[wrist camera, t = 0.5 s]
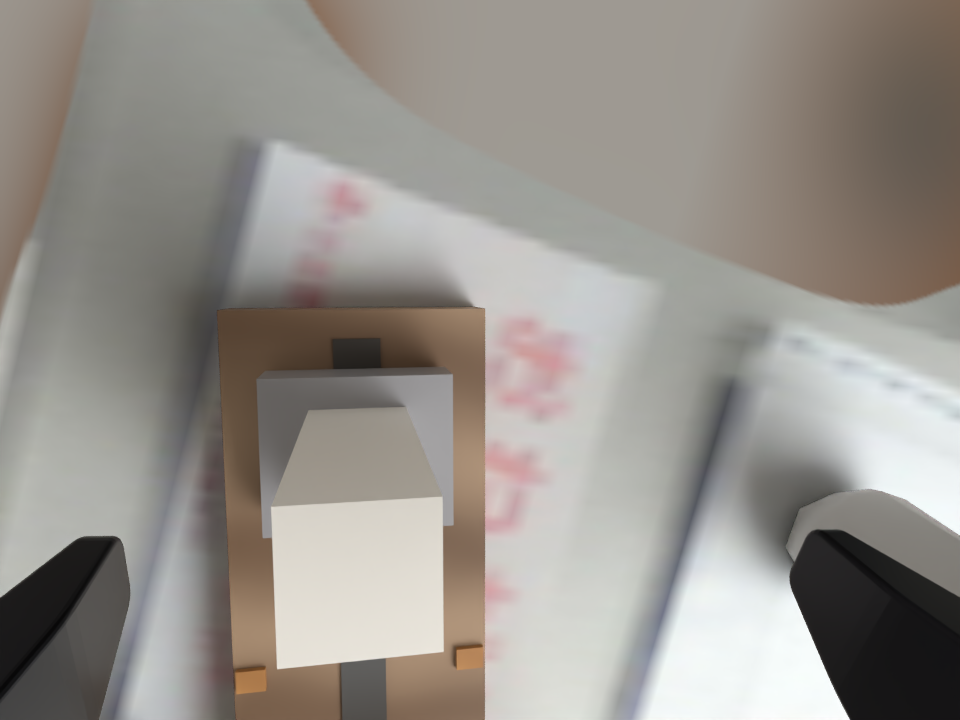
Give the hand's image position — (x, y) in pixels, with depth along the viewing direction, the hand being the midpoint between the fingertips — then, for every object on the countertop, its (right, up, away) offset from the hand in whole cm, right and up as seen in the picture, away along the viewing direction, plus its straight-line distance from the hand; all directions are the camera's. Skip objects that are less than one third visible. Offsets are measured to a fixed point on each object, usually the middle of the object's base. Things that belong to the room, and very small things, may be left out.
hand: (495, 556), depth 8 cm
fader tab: (-4, 0, +14) cm, 15 cm away
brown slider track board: (-5, -4, +17) cm, 18 cm away
